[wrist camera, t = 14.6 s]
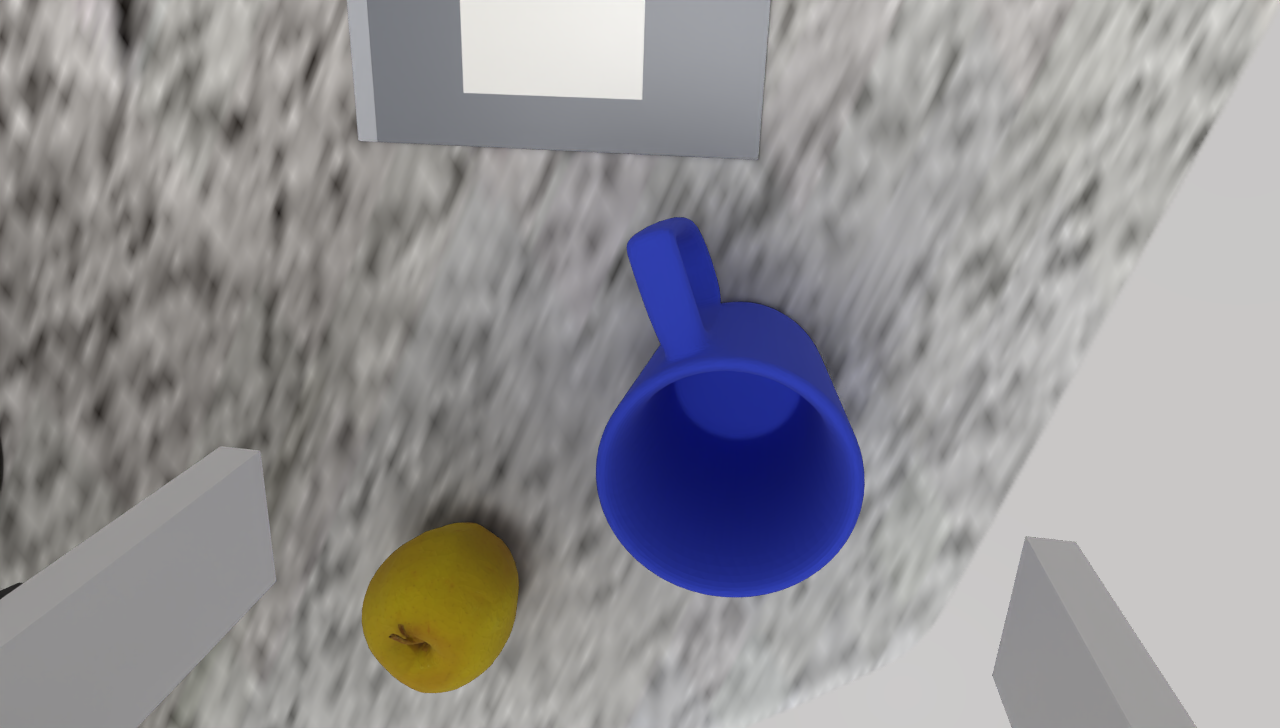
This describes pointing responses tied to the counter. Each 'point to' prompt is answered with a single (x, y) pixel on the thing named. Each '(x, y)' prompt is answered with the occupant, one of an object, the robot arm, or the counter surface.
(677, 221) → the mug
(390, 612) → the apple
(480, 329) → the counter surface
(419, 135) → the label panel
